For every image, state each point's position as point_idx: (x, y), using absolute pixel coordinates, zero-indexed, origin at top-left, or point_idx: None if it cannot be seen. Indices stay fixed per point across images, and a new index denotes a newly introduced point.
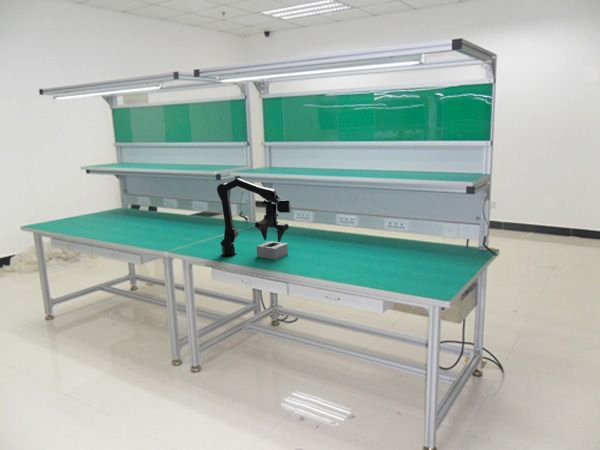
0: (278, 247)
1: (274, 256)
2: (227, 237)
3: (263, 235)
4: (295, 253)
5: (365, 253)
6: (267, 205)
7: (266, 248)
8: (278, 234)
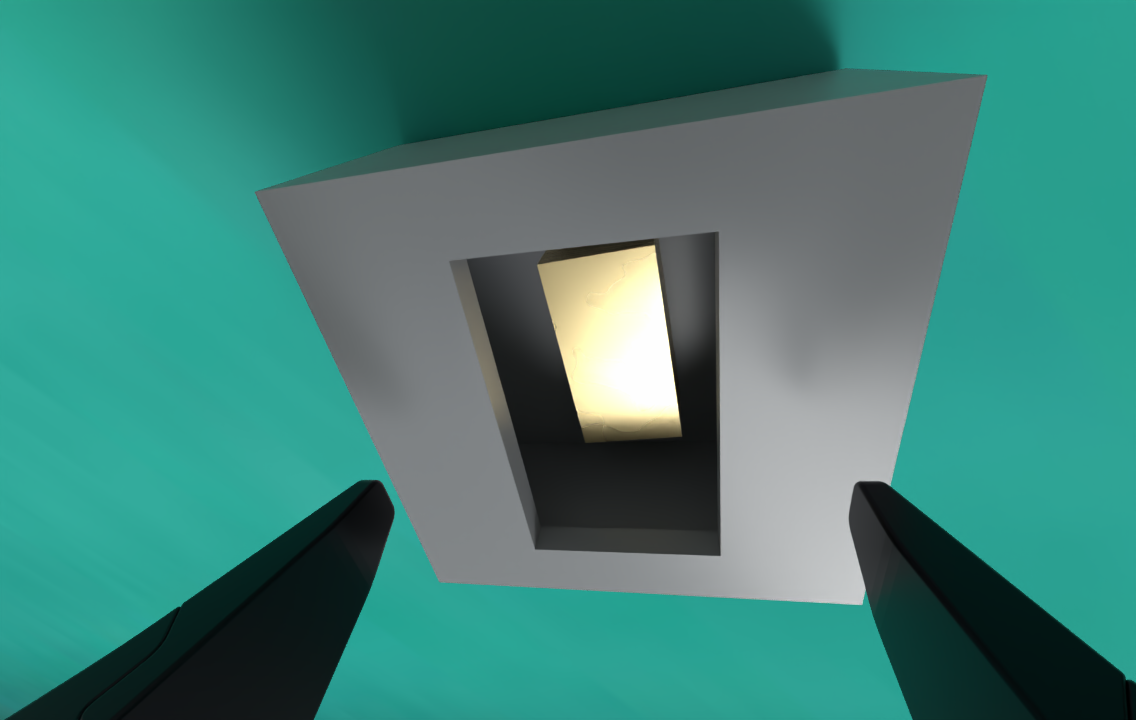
0: (330, 343)
1: (377, 153)
2: None
3: (998, 629)
4: None
5: None
6: None
7: (528, 142)
8: (97, 701)
